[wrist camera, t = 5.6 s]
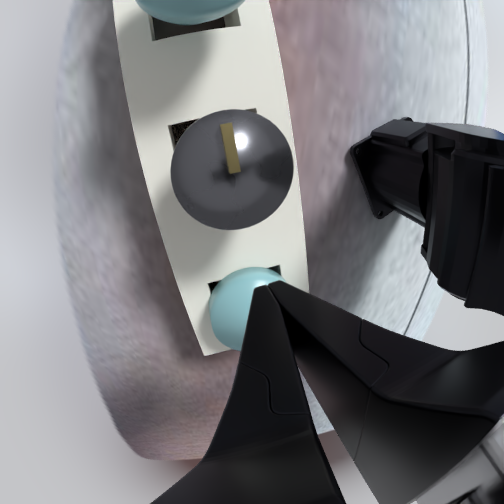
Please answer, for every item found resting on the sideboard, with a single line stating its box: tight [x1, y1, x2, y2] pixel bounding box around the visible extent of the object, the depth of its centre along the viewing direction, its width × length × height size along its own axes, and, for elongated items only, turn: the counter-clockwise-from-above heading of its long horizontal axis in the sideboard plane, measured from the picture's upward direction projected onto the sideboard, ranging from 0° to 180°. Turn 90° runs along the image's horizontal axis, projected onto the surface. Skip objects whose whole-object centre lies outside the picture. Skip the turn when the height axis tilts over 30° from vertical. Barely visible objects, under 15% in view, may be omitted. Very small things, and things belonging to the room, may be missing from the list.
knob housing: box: [113, 0, 309, 356], centre depth 16 cm, size 25×8×4 cm, turn 11°
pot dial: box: [170, 109, 294, 230], centre depth 12 cm, size 5×5×5 cm
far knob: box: [209, 267, 287, 351], centre depth 19 cm, size 5×5×5 cm
